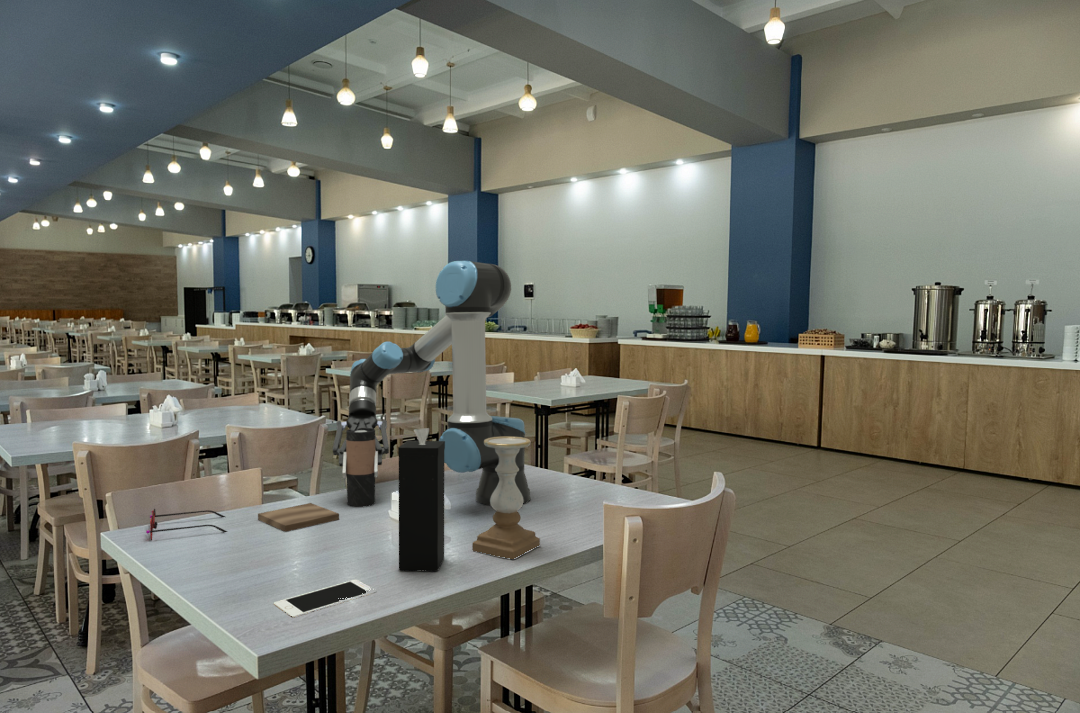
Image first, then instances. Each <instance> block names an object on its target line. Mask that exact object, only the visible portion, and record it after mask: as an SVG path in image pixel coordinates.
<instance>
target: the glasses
mask: <svg viewBox="0 0 1080 713" xmlns="http://www.w3.org/2000/svg"><path fill="white" fill-rule="evenodd" d="M150 513H151V515H149V518H150V520H149V521H150V522H149V527H150V528H149V529H147V530H146V531H145V533H146V534H147V535H148V534H149V536H150V540H151V541H153V533H158V532H168V531H175V530H185V529H186V530H187V529H193V528H203V527H212V528H215V529H217V530H219V531H220V532H222V533H224V532H228V531H227V530H225V529H223V528H221V527H219V526H217V525H215V524H201V525H194V526H193V525H192V526H191V525H190V526H181V527H172V528H164V529H157V528H158V522H157V521H155V519H156V518H160V517H170V516H179V515H180V516H181V515H187V514H188V515H189V514H197V513H212V514H215V515H217V516H219V517H220V518H222V517H225V518H226V515H223V514H220V513H218V512H217V511H215V510H214V511H213V510H210V509H209V510H208V509H207V510H198V511H187V512H186V511H185V512H175V513H167V514H159V515H158V514H157V513H156V508H154V509H153V510H152V511H150ZM153 528H154V529H153Z"/></svg>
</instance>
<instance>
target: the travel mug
mask: <svg viewBox="0 0 1080 713" xmlns="http://www.w3.org/2000/svg"><path fill="white" fill-rule="evenodd" d="M345 435H346V438H345V439H346V478H345V479H346V495H347V496H346V498H347V499H346V501H347V506H349V507H353V508H364V507H363V506H366V507H369V505H370V506H373V505H374V504H375V503H374V502H375V500H376V499H375V498H376V477H375V474H374V467H375V451H376V450H375V435H376V430H375V428H374V429H372V428H358V429H357V430H354V431H352V430H350V429H349V428H348V429H347V430H346V434H345ZM372 504H373V505H372Z"/></svg>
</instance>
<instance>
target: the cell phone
mask: <svg viewBox="0 0 1080 713" xmlns="http://www.w3.org/2000/svg"><path fill="white" fill-rule="evenodd" d="M371 588H372V587H371ZM371 588H370V586H369V585H367V584H365V583H363V582H361V581H360V580H359V579H351V580H347V581H345V582H341V583H337V584H333V585H330V586H327V587H323V588H319V589H317V590H316V589H315V590H313V591H309V592H306V593H303V594H299V595H294V596H292V597H287V598H284V599H281V600H277V601H274V602H273V605H274V606H275V607H277V608H278V609H279V610H280V611H282V612H283V611H284V612H283V613H285V612H286V613H287V614H286V613H285V614H286V615H288V614H289V615H290V616H292V617H291V618H293V617H294V618H296V617H295V616H298V615H301V614H304V613H307V614H309V613H308V612H311V611H314V610H316V609H320V608H323V606H324V607H325V606H326V607H327V606H329V605H333V604H334V603H338V602H340V601H339V600H345V598H346V597H347V598H351V597H352V598H353V597H357V596H361V595H364V594H367V593H366V591H367V590H369V589H370V590H371ZM374 589H375V588H373V590H374ZM365 590H366V591H365ZM370 590H369V591H370ZM367 592H368V591H367ZM362 593H363V594H362ZM338 598H339V599H338ZM340 598H341V599H340ZM342 598H344V599H342ZM347 598H346V600H347ZM341 602H342V601H341ZM327 608H328V607H327ZM320 610H321V609H320ZM314 612H315V611H314ZM311 613H312V612H311ZM289 615H288V616H289ZM304 615H305V614H304ZM290 616H289V617H290ZM301 616H302V615H301ZM298 617H299V616H298Z"/></svg>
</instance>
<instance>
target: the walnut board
mask: <svg viewBox="0 0 1080 713" xmlns="http://www.w3.org/2000/svg"><path fill="white" fill-rule="evenodd" d="M257 520H258V521H260V522H263V523H265V524H267V525H270V526H271V527H273V528H276V529H278V530H280V531H283V532H284V533H286V532H290V531H291V530H292V531H295V530H299V529H303V528H304V529H305V528H309V527H312V526H318V525H321V524H325V523H330V522H334V521H338V520H340V513H338V512H336V511H333V510H332V509H328V508H325V507H322V506H320V505H317V504H314V503H312V502H309V503H305V504H299V505H294V506H289V507H284V508H279V509H274V510H270V511H269V510H268V511H264V512H260V513H257Z"/></svg>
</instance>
